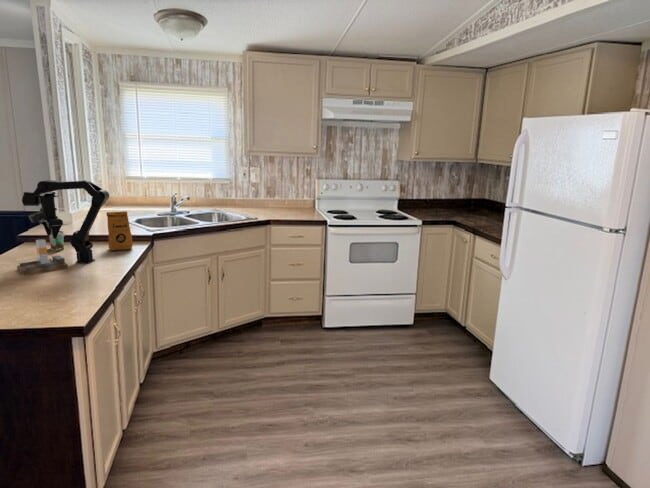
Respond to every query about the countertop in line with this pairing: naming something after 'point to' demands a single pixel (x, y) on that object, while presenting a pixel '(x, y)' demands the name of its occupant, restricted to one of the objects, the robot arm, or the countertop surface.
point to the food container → (57, 241)
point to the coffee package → (119, 231)
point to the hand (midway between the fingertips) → (51, 237)
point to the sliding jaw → (42, 252)
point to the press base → (42, 266)
